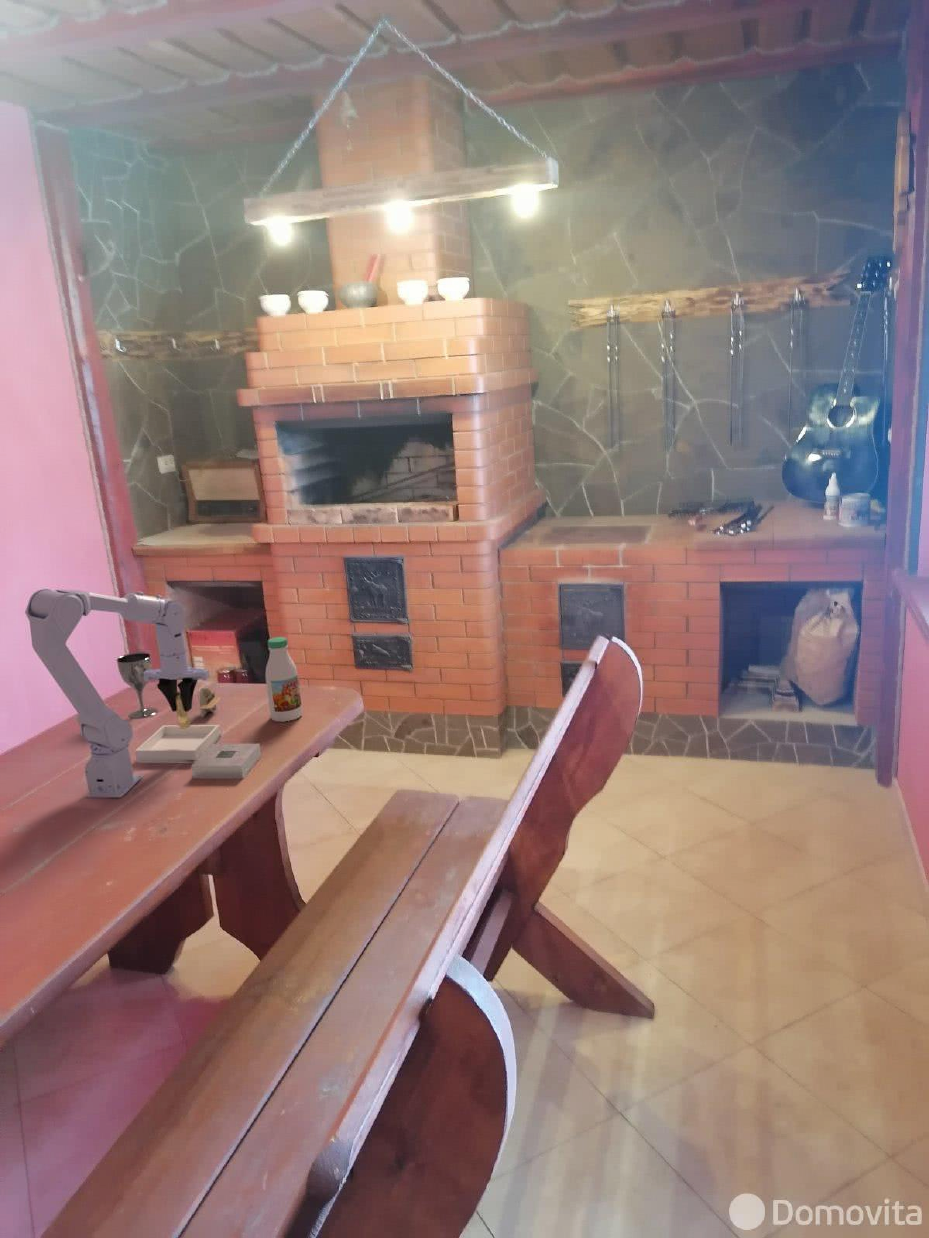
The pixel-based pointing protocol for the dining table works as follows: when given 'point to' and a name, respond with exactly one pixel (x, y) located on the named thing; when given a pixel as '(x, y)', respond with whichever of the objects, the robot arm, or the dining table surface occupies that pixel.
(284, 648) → the milk bottle
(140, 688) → the wine glass
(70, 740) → the dining table surface
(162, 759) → the tray
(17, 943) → the dining table surface
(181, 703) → the pin
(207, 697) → the architectural model
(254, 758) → the grey square socket block
